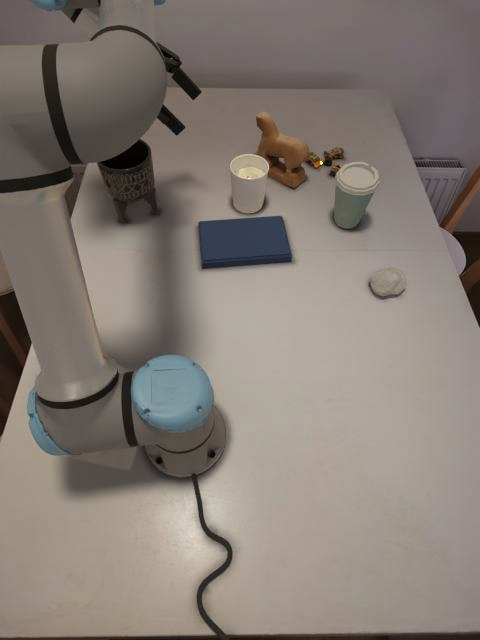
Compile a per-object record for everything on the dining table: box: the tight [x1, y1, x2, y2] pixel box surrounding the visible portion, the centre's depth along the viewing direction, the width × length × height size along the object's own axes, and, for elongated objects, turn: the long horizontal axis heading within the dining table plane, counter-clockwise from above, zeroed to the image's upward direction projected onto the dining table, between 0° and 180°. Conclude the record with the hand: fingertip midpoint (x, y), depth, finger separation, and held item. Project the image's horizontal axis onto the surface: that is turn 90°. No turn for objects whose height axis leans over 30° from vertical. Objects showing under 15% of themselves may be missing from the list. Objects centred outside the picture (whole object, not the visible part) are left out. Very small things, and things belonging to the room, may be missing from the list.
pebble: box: [368, 267, 408, 297], centre depth 100 cm, size 9×8×5 cm
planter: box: [96, 138, 159, 224], centre depth 108 cm, size 13×13×18 cm
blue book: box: [197, 215, 293, 270], centre depth 108 cm, size 14×22×2 cm, turn 97°
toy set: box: [305, 146, 345, 176], centre depth 126 cm, size 12×11×5 cm
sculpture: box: [253, 110, 311, 189], centre depth 119 cm, size 6×17×15 cm, turn 50°
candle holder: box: [229, 153, 269, 214], centre depth 113 cm, size 10×10×12 cm
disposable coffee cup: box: [333, 161, 380, 229], centre depth 108 cm, size 11×11×15 cm
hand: (189, 113), depth 92 cm, fingers open, 13 cm apart
